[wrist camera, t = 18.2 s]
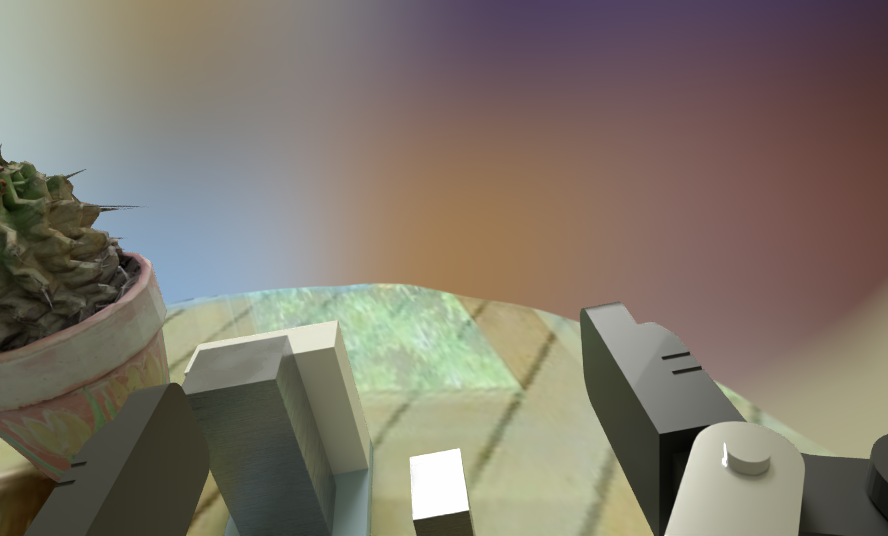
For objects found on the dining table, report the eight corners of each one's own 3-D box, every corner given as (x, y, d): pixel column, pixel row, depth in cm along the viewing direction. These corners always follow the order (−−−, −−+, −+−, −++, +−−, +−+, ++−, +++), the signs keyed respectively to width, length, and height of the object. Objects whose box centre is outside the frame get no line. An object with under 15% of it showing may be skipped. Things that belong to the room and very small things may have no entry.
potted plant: (129, 350, 60) (12, 105, 49) (267, 390, 51) (161, 97, 39) (-69, 480, 47) (-296, 184, 35) (68, 568, 37) (-182, 200, 26)
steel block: (248, 553, 35) (176, 396, 29) (261, 499, 38) (199, 350, 33) (331, 539, 35) (275, 378, 29) (336, 486, 38) (287, 335, 33)
